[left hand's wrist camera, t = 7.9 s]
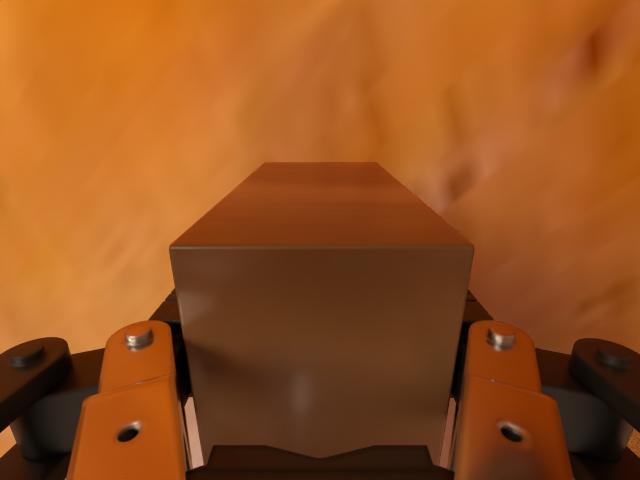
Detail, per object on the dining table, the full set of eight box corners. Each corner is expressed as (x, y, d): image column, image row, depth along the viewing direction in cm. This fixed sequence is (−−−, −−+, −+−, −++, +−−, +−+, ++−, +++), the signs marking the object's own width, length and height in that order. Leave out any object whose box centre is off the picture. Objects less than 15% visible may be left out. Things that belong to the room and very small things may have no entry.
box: (263, 162, 18) (166, 245, 7) (377, 162, 18) (477, 245, 7) (282, 497, 27) (254, 783, 15) (358, 497, 27) (387, 783, 15)
